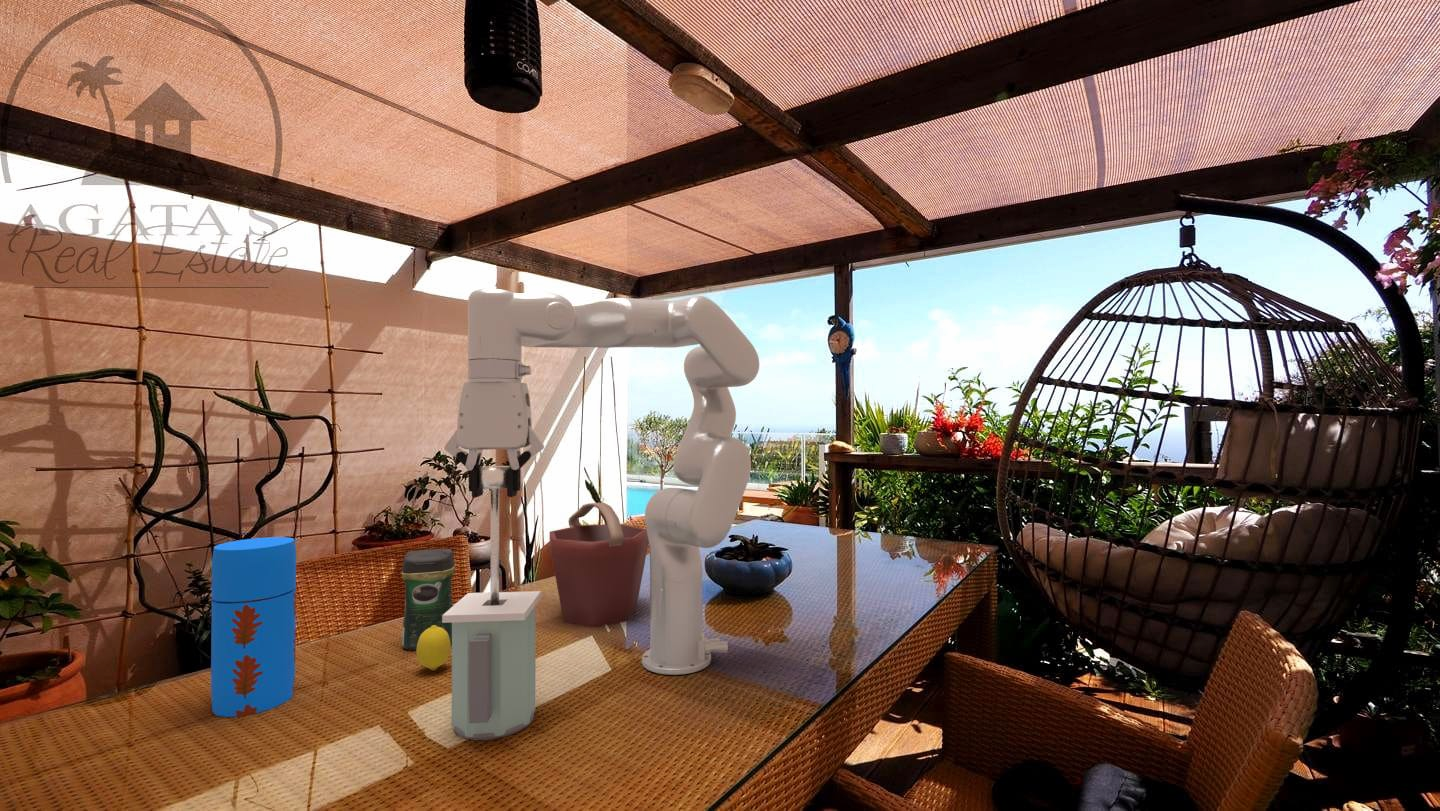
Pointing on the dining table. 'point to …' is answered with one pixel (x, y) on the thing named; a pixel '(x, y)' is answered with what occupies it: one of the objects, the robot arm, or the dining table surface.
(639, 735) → the dining table surface
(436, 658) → the lemon
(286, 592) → the thermos
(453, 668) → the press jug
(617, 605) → the bucket
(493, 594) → the plunger
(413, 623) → the coffee jar
